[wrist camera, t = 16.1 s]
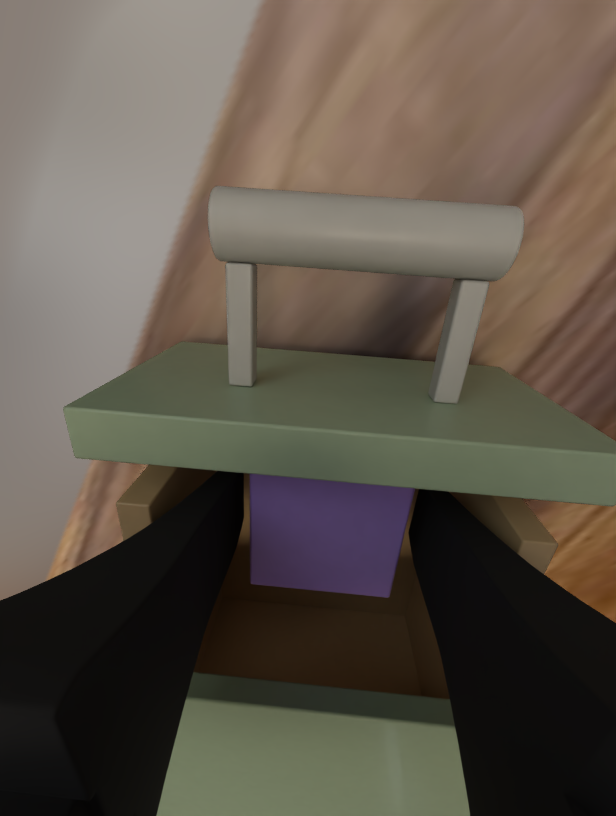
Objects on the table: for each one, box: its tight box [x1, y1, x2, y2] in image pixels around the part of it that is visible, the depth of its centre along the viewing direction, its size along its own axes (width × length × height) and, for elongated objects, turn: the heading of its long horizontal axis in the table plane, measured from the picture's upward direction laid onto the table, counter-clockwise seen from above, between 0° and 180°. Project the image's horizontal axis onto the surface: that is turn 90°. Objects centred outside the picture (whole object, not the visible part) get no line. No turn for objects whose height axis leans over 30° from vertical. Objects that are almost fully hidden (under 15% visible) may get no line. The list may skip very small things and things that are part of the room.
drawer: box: [63, 186, 616, 699], centre depth 11 cm, size 17×11×6 cm
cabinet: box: [156, 672, 470, 816], centre depth 15 cm, size 13×12×8 cm
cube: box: [250, 474, 415, 598], centre depth 11 cm, size 4×4×4 cm
